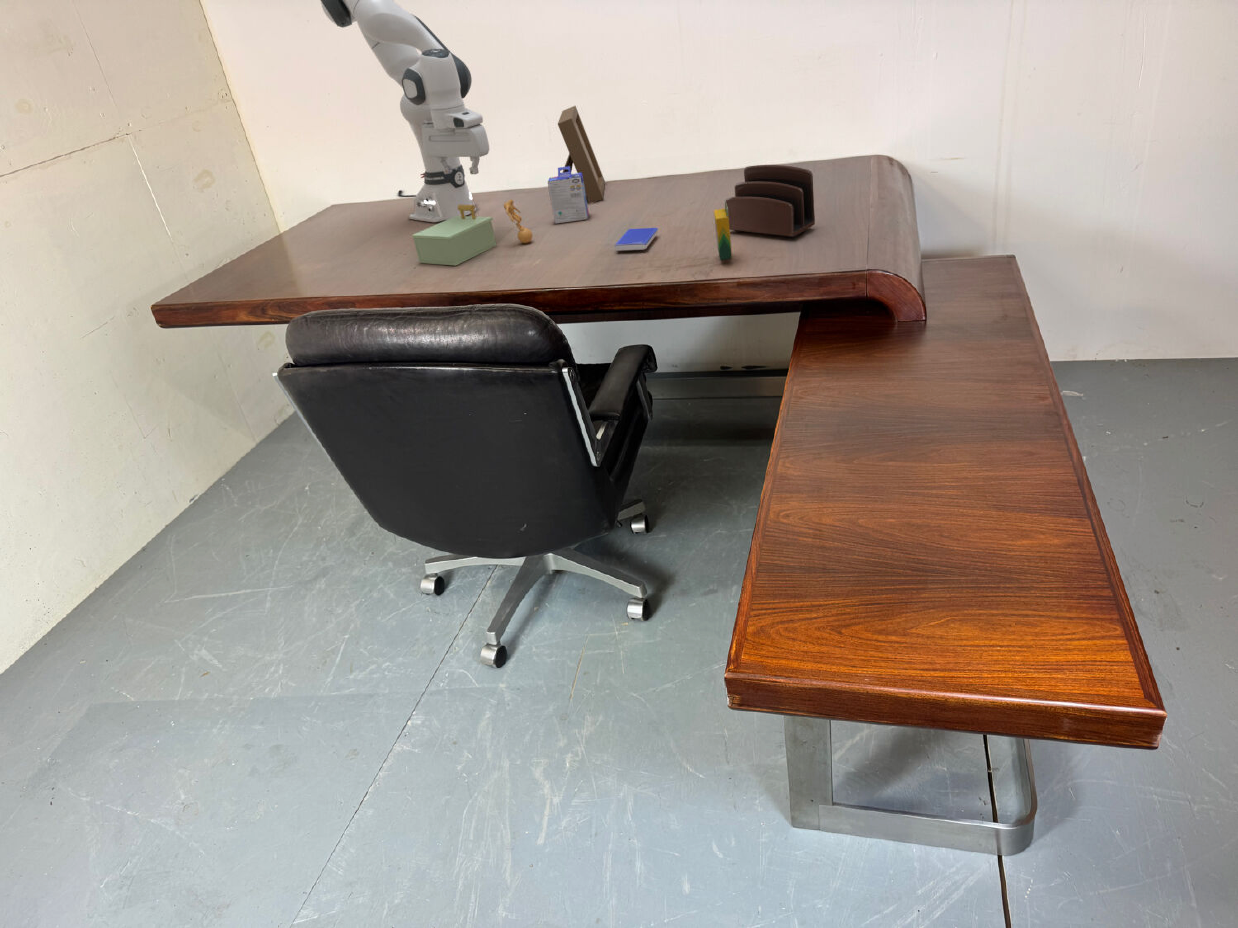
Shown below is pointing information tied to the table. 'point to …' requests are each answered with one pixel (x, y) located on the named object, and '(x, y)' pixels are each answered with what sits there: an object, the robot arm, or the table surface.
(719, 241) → the crayon box
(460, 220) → the chest lid
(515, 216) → the figurine
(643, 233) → the hard drive
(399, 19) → the robot arm
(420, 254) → the chest
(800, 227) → the letter holder
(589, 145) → the photo frame
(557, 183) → the ink cartridge box
